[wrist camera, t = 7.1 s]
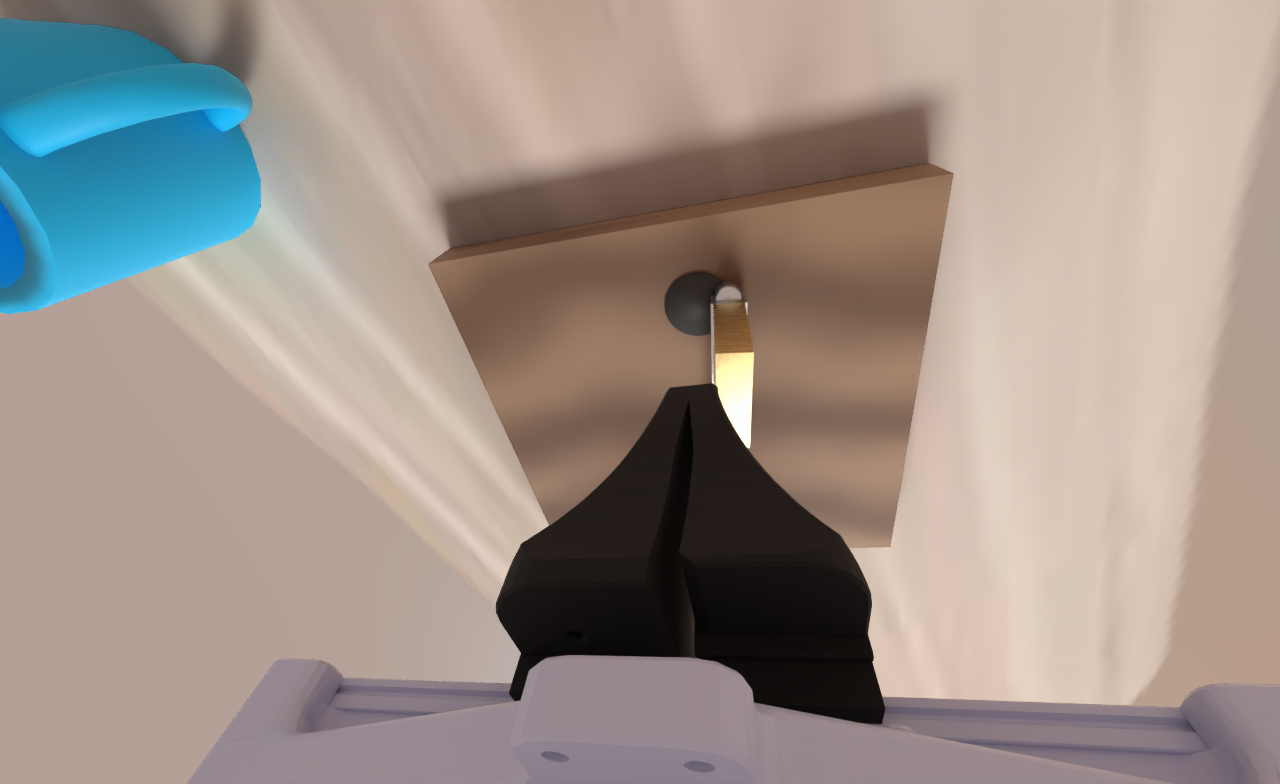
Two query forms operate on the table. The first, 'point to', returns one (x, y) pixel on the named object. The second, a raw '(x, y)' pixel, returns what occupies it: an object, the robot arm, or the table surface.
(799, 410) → the hole plate
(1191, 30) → the table surface
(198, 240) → the mug
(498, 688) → the robot arm
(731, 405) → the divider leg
